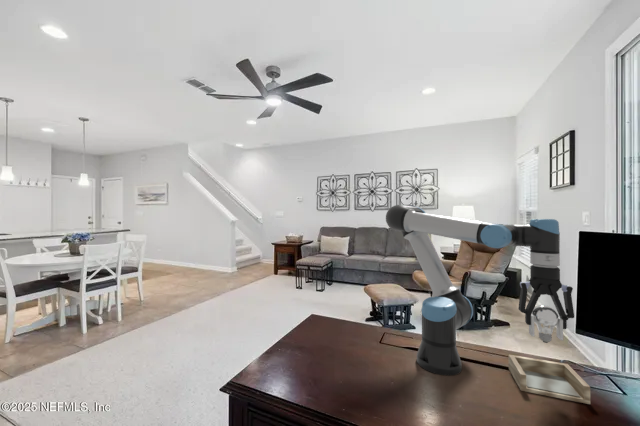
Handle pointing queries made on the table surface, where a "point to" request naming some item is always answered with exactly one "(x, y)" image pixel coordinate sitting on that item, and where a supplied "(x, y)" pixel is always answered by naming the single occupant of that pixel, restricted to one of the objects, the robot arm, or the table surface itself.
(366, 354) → the table surface
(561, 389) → the shallow wooden tray
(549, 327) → the light bulb
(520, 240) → the robot arm
